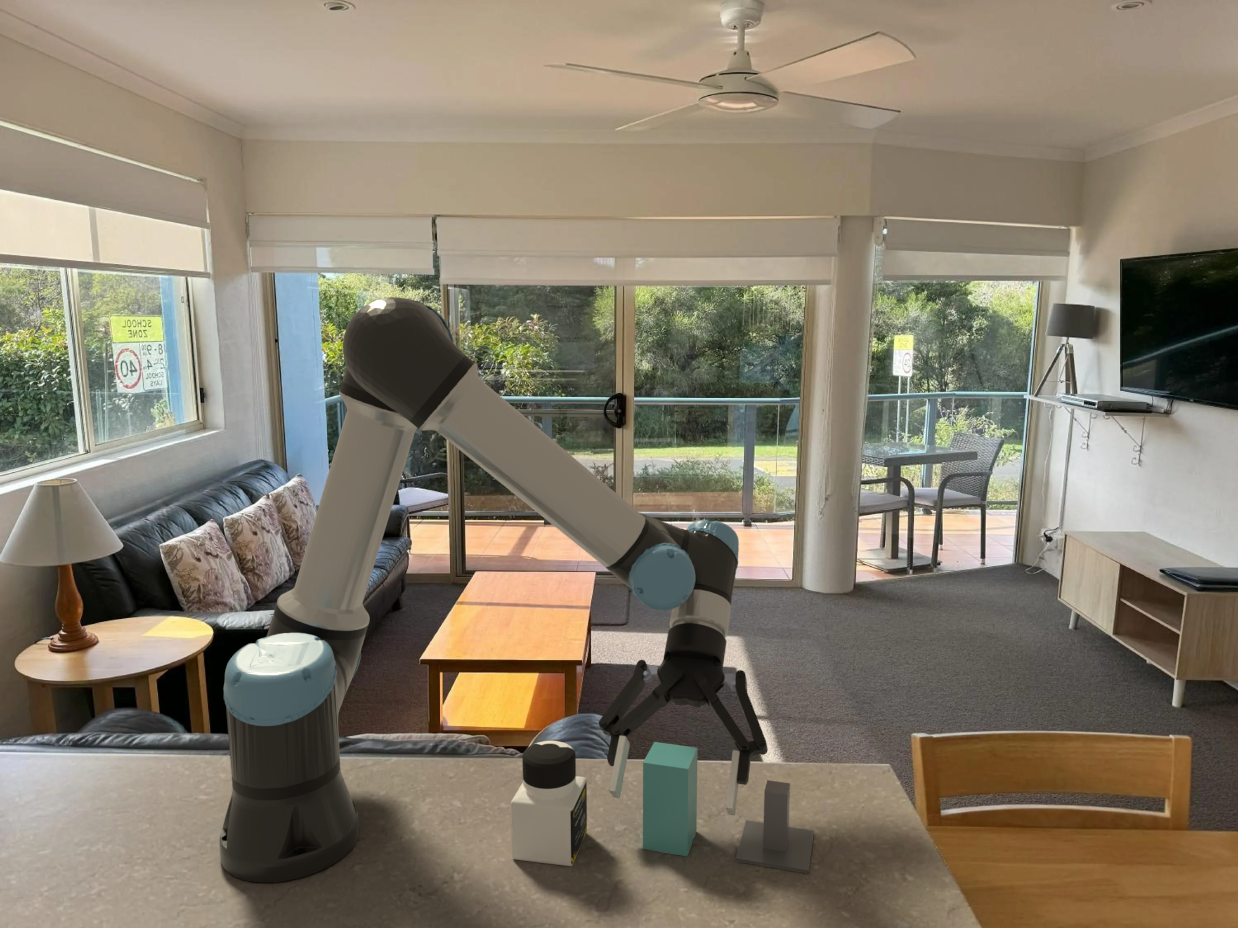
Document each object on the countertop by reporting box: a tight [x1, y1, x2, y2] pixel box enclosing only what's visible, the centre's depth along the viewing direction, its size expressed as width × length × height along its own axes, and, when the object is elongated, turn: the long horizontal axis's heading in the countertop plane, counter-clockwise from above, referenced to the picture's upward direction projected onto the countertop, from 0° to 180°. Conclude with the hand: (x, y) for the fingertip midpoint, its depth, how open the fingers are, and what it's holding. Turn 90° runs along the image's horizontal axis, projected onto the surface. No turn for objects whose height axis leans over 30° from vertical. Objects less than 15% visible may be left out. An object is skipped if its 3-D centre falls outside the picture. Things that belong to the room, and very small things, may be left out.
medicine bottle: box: [510, 740, 588, 867], centre depth 101 cm, size 7×7×12 cm
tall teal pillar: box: [642, 741, 698, 857], centre depth 102 cm, size 5×5×11 cm
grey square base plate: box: [735, 779, 815, 874], centre depth 101 cm, size 8×8×7 cm
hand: (671, 803), depth 101 cm, fingers open, 13 cm apart
